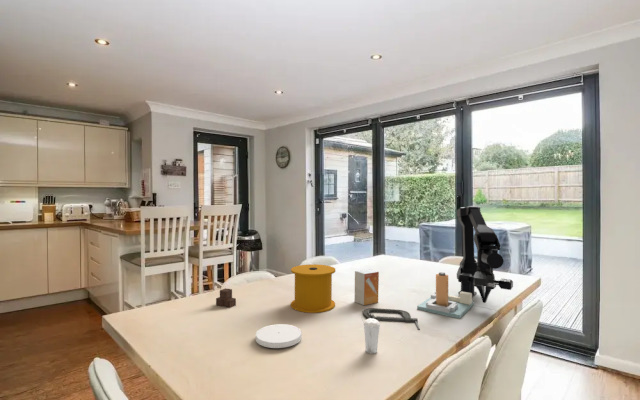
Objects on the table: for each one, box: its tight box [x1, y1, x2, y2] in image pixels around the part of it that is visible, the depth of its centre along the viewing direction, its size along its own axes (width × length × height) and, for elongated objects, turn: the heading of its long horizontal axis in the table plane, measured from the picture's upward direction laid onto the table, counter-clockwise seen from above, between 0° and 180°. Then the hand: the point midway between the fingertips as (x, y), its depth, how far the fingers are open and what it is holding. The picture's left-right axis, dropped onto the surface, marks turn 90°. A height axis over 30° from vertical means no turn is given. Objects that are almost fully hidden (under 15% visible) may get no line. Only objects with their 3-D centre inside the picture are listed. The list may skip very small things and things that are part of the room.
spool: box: [290, 263, 336, 314], centre depth 135 cm, size 18×18×15 cm
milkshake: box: [361, 316, 381, 355], centre depth 95 cm, size 4×5×10 cm
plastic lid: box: [255, 323, 303, 349], centre depth 102 cm, size 14×14×2 cm
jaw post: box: [435, 271, 449, 307], centre depth 130 cm, size 5×5×13 cm
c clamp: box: [362, 307, 421, 331], centre depth 122 cm, size 20×17×3 cm
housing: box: [416, 291, 474, 319], centre depth 134 cm, size 20×16×3 cm
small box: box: [354, 268, 380, 306], centre depth 139 cm, size 8×6×13 cm
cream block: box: [448, 292, 473, 305], centre depth 137 cm, size 3×10×4 cm, turn 52°
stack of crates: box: [215, 287, 237, 309], centre depth 136 cm, size 15×15×7 cm
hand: (484, 302), depth 131 cm, fingers closed
